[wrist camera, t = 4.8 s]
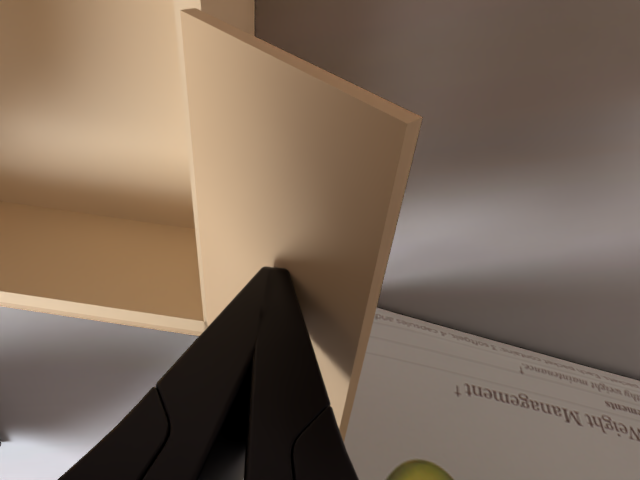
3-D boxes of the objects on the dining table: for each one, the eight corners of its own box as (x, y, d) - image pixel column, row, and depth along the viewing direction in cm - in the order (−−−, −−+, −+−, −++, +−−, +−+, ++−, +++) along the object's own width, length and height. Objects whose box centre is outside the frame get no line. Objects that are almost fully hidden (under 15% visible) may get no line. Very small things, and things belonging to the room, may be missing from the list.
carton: (253, 247, 18) (221, 342, 15) (-80, 199, 19) (-186, 281, 15) (255, -94, 12) (196, -65, 8) (-269, -157, 12) (-540, -157, 8)
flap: (208, 332, 14) (217, 327, 14) (331, 465, 11) (340, 456, 11) (179, 10, 8) (195, 7, 9) (407, 123, 6) (422, 116, 6)
